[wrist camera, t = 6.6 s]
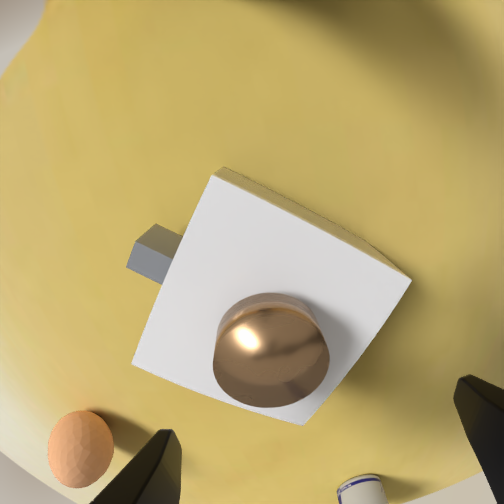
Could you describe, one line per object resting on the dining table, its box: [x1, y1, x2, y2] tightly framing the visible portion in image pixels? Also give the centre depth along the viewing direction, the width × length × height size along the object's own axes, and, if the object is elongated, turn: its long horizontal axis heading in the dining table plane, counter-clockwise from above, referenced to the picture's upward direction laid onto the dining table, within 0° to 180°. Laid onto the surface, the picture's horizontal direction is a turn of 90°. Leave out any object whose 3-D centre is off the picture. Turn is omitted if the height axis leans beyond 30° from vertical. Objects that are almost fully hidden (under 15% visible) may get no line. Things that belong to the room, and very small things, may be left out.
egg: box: [48, 411, 114, 488], centre depth 21 cm, size 6×6×8 cm
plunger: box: [213, 293, 330, 408], centre depth 16 cm, size 5×5×8 cm
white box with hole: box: [126, 167, 412, 426], centre depth 17 cm, size 12×10×7 cm
